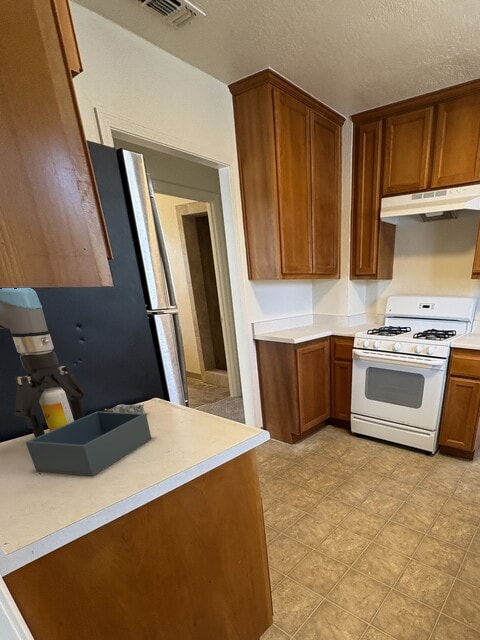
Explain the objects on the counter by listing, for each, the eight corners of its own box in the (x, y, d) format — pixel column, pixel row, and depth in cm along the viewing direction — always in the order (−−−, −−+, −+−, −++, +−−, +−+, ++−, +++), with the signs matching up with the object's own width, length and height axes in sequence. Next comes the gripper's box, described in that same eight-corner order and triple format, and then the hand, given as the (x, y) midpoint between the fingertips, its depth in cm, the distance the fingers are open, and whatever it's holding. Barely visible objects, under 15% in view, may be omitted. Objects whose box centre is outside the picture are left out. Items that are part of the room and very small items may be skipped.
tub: (36, 471, 84) (25, 442, 81) (104, 435, 103) (97, 411, 100) (93, 476, 81) (83, 446, 78) (151, 438, 101) (146, 413, 98)
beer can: (60, 437, 103) (43, 387, 97) (83, 435, 104) (67, 386, 98) (49, 445, 97) (30, 393, 91) (73, 443, 98) (56, 392, 92)
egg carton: (105, 421, 115) (101, 409, 113) (118, 413, 122) (115, 402, 120) (136, 421, 114) (133, 409, 113) (148, 413, 121) (145, 401, 119)
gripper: (0, 362, 79) (32, 448, 87) (87, 344, 101) (106, 414, 110) (-27, 361, 80) (7, 446, 89) (65, 344, 103) (85, 413, 111)
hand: (62, 429), depth 99 cm, fingers open, 12 cm apart
